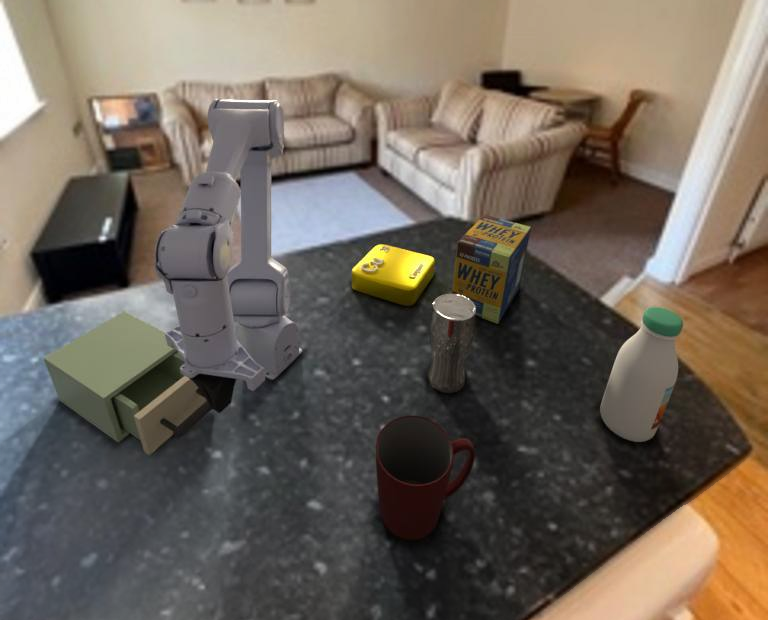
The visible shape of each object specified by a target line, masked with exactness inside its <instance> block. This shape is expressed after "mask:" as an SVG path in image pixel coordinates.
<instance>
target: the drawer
mask: <svg viewBox="0 0 768 620" xmlns="http://www.w3.org/2000/svg"><path fill="white" fill-rule="evenodd" d="M184 363H185V362H184V361H183V359H182V358H181V356H180V354H179V353H178V352H175V353H173V354H172V355H170V356H169V357H168V358H166V359H165V360H163V361H162V362H161V363H159V364H158V365H157V366H155V367H154V368H152V369H151V370H150V371H148V372H147V373H145V374H144V375H143V376H141V377H140V378H138V379H137V380H136V381H134V382H133V383H132V384H130V385H129V386H127V387H126V388H125V389H123V390H122V391H120V392H119V393H118V394H116V395H115V396H113V397H112V398H111V401H112V404H113V407H114V411H115V414H116V417H117V420H118V423H119V426H121V427H122V428H124V429H125V430H126V431H128V432H129V433H130V434H131V435H132V436H134V437H135V438H137V440H139V441H140V442H141V445H142V449H143V453H146V454H147V455H148V456H151V455H152V454H153V453H154V452H155V451H156V450H158V448H159V447H161V446H162V445H163V444H164V443H166V442H167V440H169V439H170V438H171V437H172V436H174V437H175V438H176V439H178V440H181V438H183V437H184V436H185V435H186V434H187V433H188V432H189V431H190V430H191V429H193V427H194V426H196V425H197V424H198V423H200V421H201V420H202V419H203V418H205V417H206V416H207V415H208V414H209V413H210V412H211V411H212V410H213V409H212V408H211V407H210V405H209V404H208V402H207V400H206V398H205V397H204V395H203V393H202V392H201V390H200V389H199V388H198V386H197V385H196V384H195V383H194V382H193V381H192V380H191V379H189V378H188V377H186V376H184V375H182V374H181V373H180V367H181V366H182V365H183V364H184Z"/></svg>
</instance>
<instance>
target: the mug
mask: <svg viewBox="0 0 768 620" xmlns="http://www.w3.org/2000/svg"><path fill="white" fill-rule="evenodd" d="M463 451H467V455H466V459H465V461H464V463H463V465H462V467H461V469H460V470H459V471H458V473H457V474H456V476H455V477H454V478H453V479H452V480H451V481H450V477H451V473H452V468H453V464H454V463H453V462H454V456H455V455H456V454H458V453H460V452H463ZM475 459H476V450H475V448H474V445H473V443H472V441H471V440H470V439H468V438H466V437H465V438H464V437H463V438H461V437H460V438H457V439H455V440H453V441H452V440H451V438H450V436H449V435H448V433H447V432H446V431H445V429H444V428H443V427H442V426H441V425H440V424H438V423H437V422H435V421H434V420H432V419H430V418H427V417H424V416H421V415H403V416H399V417H396V418H394V419H391V421H388V422H387V423H386V424H385V425H384V426H383V427H382V428H381V430H380V432H379V433H378V435H377V438H376V442H375V472H376V482H377V495H378V502H379V503H378V505H379V512H380V516H381V519H382V520H381V521H383V524H384V525H385V527H386V528H387V529H388V531H389V532H390V533H392V534H393V535H394V536H396V537H398V538H400V539H403V540H406V541H416V540H421V539H423V538H425V537H427V536H428V535H430V534H431V533H432V532H433V531H434V530H435V528H436V526H437V524H438V522H439V519H440V516H441V512H442V508H443V505H444V501H445V500H446V499H448V498H449V497H451V496H453V495H454V494H455V493H456V492H458V490H459V489H460V488H461V487H463V485H464V484H465V482H466V480H468V477H469V476H470V474H471V472H472V469H473V467H474V464H475Z"/></svg>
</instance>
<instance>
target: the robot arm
mask: <svg viewBox="0 0 768 620" xmlns="http://www.w3.org/2000/svg"><path fill="white" fill-rule="evenodd" d="M207 110H208V111H207V126H208V131H209V134H210V137H211V139H212V145H211V149H210V153H209V157H208V162H207V165H206V169H205V171H204V172H200V173H198V174H196V175H195V176H194V177H193V178H192V181H191V183H190V185H189V188H188V190H187V193H186V195H185V198H184V200H183V203H182V204H181V205H182V206H181V208H180V210H179V213H178V215H177V218H176V220H175V222H174V224H171V225H170V227H168V228H167V229H163V230H162V231H161V232H160V233H159V234H158V236H157V240H156V242H155V246H154V264H153V268H154V271H155V273H156V275H157V276H158V278H159V279H160V280H162V281H163V283H164V286H165V291H166V292H167V293H168V294H171V295H173V300H174V305H175V310H176V315H177V319H178V320H177V321H178V325H176V326H174V327H173V328H172V329H170V330H168V331H167V332H166V334H165V337H166V342H167V346H169V347H171V348H176V350H177V351H178V353H179V354H180V356H181V358H182V359H183V361H184V362H185V363H184V364H183V365H182V366H181V367H180V373H181V374H182V375H184V376H186V377H188V378H189V379H191V380H192V381H193V382H194V383H195V384H196V385H197V386H198V388H199V389H200V390H201V392H202V393H203V395H204V397H205V398H206V400H207V402H208V404H209V405H210V407H211V408H212V410H213V411H215V412H216V413H218V414H222V412H223V411H225V409H226V408H227V407H228V406H229V405H231V404H232V399H233V393H234V389H235V386H236V385H235V384H236V382H237V380H241V381H244V382H245V383H246V388H247V389H248V390H250V391H252V392H254V391H256V389H257V388H259V387H260V386H261V385H262V384H263V383H264V382H265V381H266V379H268V380H270V381H274V380H276V378H277V377H279V376H280V375H281V374H282V373H283V372H284V370H286V369H287V368H288V367H289V366H290V365H291V364H292V363H293V362H294V361H295V360H296V359H297V358H298V357H299V356H300V355H301V354H302V353H303V349H302V348H301V347H300V344H299V330H298V329H299V328H298V325H297V324H296V323H295V322H294V321H292V320H290V319H289V317H287V316H286V314H287V313H288V311H289V309H290V303H291V284H290V279H289V278H290V277H289V272H288V268H287V267H286V266H284V265H283V264H282V263H280V262H278V261H277V260H276V259H274V258H273V256H272V168H273V163H274V159H275V158H277V157H279V156H282V155H283V154H284V149H285V116H284V109H283V106H282V105H281V103H280V102H279V101H278V100H277V99H272V100H249V99H246V100H244V99H222V98H215V99H213V100H212V102H211V103H210V105H209V107H208V109H207ZM239 174H240V186H239V183H238V182H236V181H237V179H238V176H239ZM239 203H240V250H241V251H240V252H241V256H240V257H241V259H240V261H238V262H237V263H236V264H234V265H233V266H231V263H232V257H233V254H232V253H233V241H234V231H233V229H232V226H233V223H234V220H235V216H236V212H237V209H238V206H239ZM235 323H238V329H239V338H240V341H239V340H238V339H237V333H236V328H235Z"/></svg>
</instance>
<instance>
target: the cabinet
mask: <svg viewBox="0 0 768 620" xmlns="http://www.w3.org/2000/svg"><path fill="white" fill-rule="evenodd" d="M166 333H167V332H166V331H164V330H162V329H160V328H158V327H156V326H154V325H152V324H150V323H148V322H146V321H144V320H142V319H140V318H138V317H136V316H135V315H133V314H131V313H129V312H127V311H123V312H121V313H119V314H117V315H115V316H114V317H112V318H111V319H109V320H107V321H105V322H103V323H102V324H100V325H98V326H96V327H95V328H93V329H91V330H89V331H88V332H86V333H84V334H83V335H81V336H79V337H77V338H75V339H73V340H72V341H70V342H68V343H67V344H65V345H63V346H62V347H59V348H58V349H56V350H55V351H53V352H51V353H50V354H48V355H45V356H44V357H43V358H42V359H43V361H44V363H45V366H46V369H47V371H48V374H49V377H50V379H51V382H52V384H53V387H54V390H55V392H56V395H57V398H58V400H59V401H60V402H61V403H62V404H64V405H65V406H67V408H69V409H71V410H72V411H74V413H76V414H78V415H79V416H80V417H82V418H83V419H84V420H85V421H87V422H89V423H90V424H91V425H93V426H94V427H96V428H97V429H98V430H100V431H101V432H103V433H104V434H106V435H107V436H108V437H110V438H111V439H113V440H114V441H115V442H117V443H120V442H121V441H122V440H124V439H125V438H126V437H127V436H129V435H130V434H131V433H129V432H128V431H126V430H125V429H124V428H122V427H121V426H119V423H118V420H117V417H116V414H115V411H114V407H113V404H112V401H111V398H112V397H113V396H115V395H116V394H118V393H119V392H120V391H122V390H123V389H125V388H126V387H127V386H129V385H130V384H132V383H133V382H134V381H136V380H137V379H138V378H140V377H141V376H143V375H144V374H145V373H147V372H148V371H150V370H151V369H152V368H154V367H155V366H157V365H158V364H159V363H161V362H162V361H163V360H165V359H166V358H168V357H169V356H170V355H172V354H173V353H175V352H178V351H177V350H176V348H171V347H169V346H167V342H166V337H165V334H166Z"/></svg>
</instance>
